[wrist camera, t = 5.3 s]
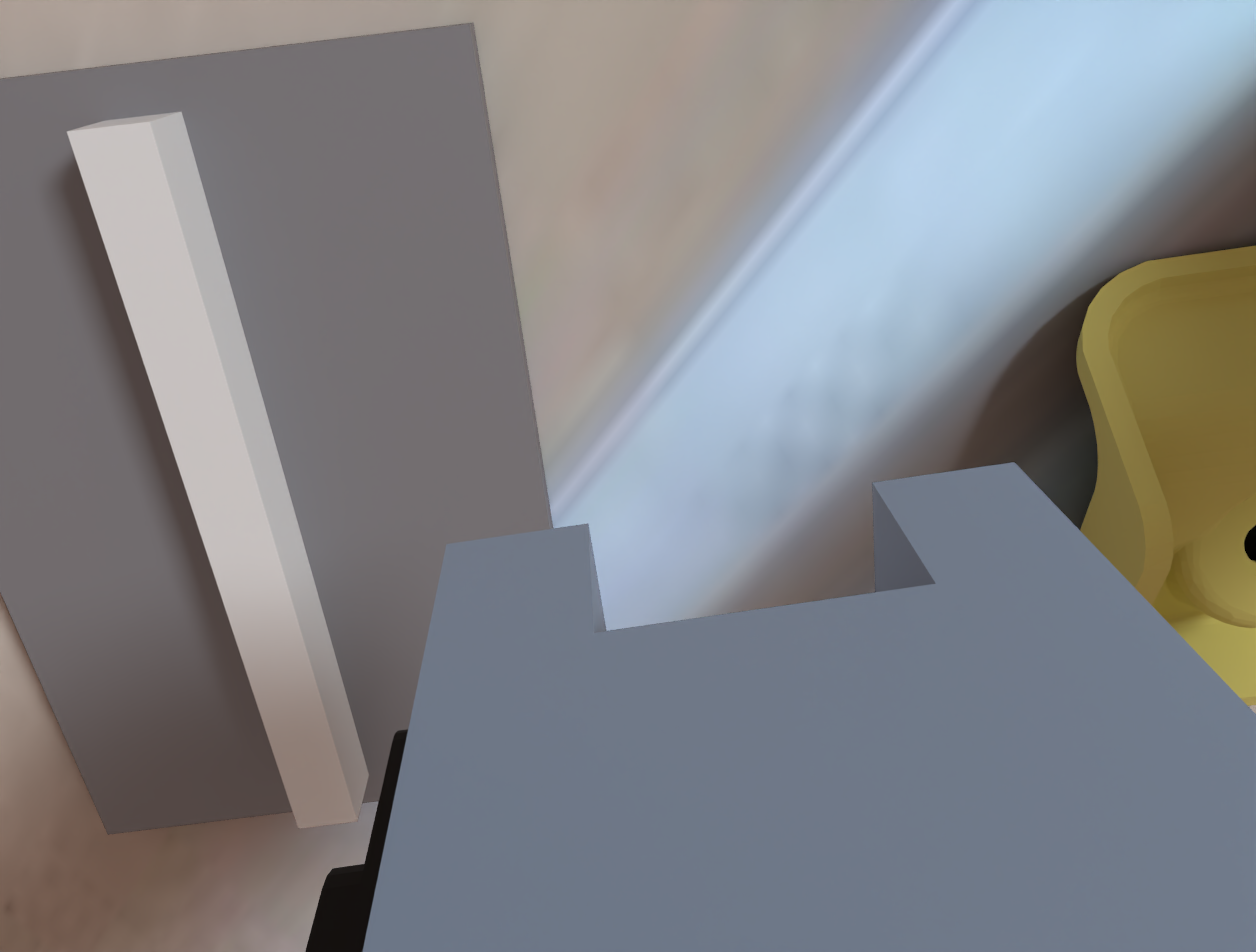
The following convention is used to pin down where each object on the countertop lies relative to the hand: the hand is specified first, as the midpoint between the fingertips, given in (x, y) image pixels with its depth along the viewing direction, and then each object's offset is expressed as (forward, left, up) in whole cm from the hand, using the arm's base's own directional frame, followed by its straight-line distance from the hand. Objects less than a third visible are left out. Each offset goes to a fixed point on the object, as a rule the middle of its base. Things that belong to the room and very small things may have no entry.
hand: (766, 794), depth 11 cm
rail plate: (+2, -10, -16) cm, 19 cm away
